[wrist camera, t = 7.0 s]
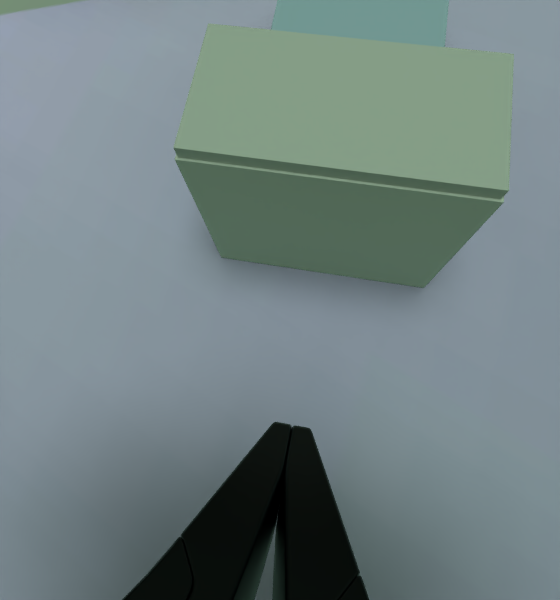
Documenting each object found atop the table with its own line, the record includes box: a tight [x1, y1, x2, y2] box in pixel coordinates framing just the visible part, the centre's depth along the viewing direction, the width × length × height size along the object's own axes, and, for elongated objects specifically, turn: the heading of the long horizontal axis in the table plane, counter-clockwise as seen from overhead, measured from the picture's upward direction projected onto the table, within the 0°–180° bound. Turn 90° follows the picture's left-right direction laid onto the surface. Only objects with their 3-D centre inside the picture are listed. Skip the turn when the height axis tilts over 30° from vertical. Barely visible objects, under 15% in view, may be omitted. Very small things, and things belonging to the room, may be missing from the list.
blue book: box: [271, 0, 449, 47], centre depth 22 cm, size 4×7×10 cm, turn 80°
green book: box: [174, 24, 514, 288], centre depth 21 cm, size 6×12×11 cm, turn 80°
